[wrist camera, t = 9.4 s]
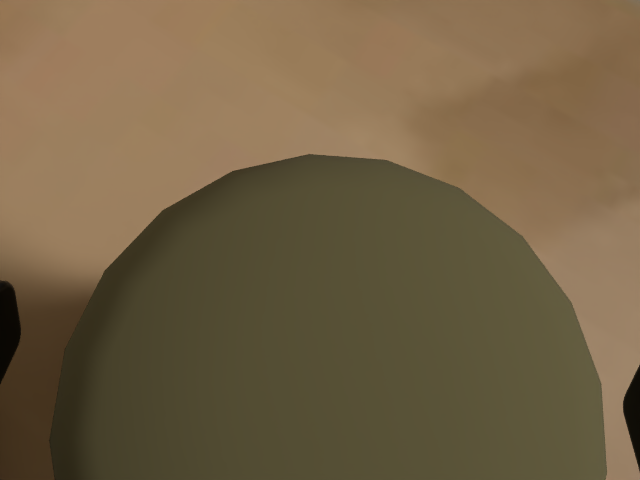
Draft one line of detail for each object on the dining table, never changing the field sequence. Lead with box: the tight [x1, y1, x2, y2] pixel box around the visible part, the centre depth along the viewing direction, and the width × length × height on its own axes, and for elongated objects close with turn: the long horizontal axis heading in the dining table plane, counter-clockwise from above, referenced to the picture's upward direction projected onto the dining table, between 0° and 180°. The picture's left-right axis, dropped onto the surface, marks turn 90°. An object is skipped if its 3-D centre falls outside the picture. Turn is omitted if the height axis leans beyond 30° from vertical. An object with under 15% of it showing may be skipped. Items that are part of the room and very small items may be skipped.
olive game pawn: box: [49, 154, 607, 480], centre depth 10 cm, size 6×6×11 cm
